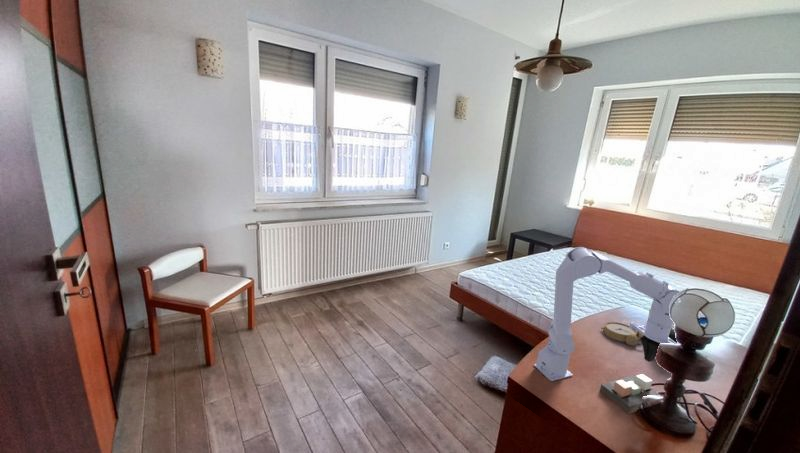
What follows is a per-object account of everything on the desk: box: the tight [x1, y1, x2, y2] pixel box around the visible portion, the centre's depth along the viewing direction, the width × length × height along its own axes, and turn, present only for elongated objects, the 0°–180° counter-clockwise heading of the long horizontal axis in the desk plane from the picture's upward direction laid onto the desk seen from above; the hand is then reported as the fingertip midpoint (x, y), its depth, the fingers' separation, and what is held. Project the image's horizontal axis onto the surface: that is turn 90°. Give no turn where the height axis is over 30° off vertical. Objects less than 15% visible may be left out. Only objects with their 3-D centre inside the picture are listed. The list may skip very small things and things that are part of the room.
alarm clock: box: [600, 321, 644, 346], centre depth 126 cm, size 11×5×15 cm
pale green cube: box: [626, 381, 641, 396], centre depth 94 cm, size 3×3×3 cm
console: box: [599, 375, 661, 415], centre depth 95 cm, size 14×9×3 cm, turn 108°
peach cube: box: [613, 379, 632, 397], centre depth 92 cm, size 3×3×3 cm
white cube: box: [634, 373, 653, 391], centre depth 95 cm, size 3×3×3 cm
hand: (648, 359), depth 97 cm, fingers closed
